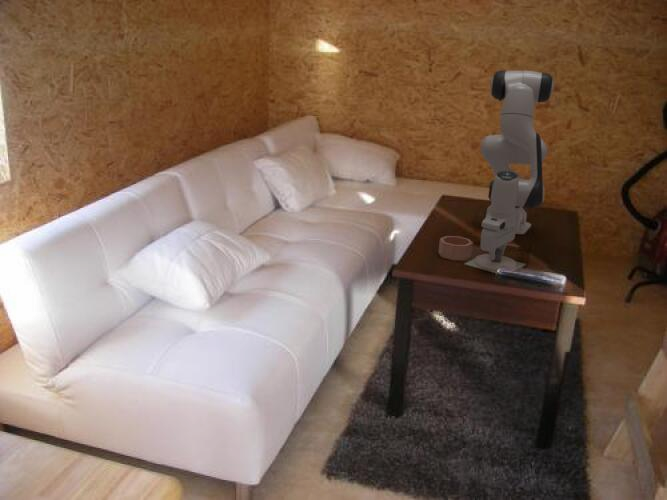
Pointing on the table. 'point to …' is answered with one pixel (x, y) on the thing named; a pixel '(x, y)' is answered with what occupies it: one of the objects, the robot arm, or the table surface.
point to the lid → (494, 261)
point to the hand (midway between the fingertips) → (496, 257)
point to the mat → (472, 263)
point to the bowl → (455, 248)
